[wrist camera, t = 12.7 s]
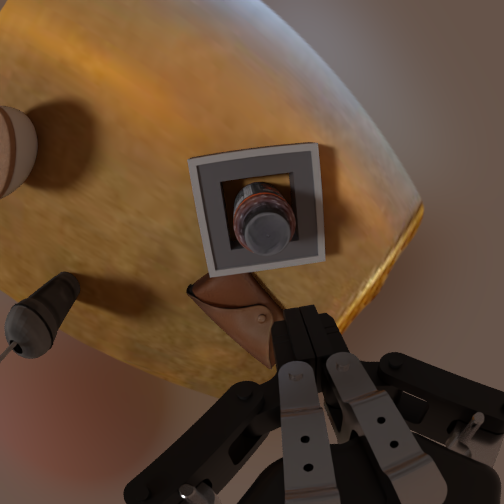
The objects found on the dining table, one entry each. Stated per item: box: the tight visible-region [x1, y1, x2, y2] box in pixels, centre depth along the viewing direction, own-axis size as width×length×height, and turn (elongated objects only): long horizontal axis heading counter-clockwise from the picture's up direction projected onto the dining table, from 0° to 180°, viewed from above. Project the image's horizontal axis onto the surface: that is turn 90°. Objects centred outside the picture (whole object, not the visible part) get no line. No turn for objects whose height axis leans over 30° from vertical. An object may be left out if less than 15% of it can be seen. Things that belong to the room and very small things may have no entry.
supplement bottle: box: [233, 182, 296, 256], centre depth 30 cm, size 6×6×11 cm
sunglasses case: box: [186, 272, 284, 369], centre depth 40 cm, size 18×7×7 cm
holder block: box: [188, 142, 325, 278], centre depth 34 cm, size 14×14×3 cm
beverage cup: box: [0, 272, 80, 362], centre depth 29 cm, size 7×7×20 cm
